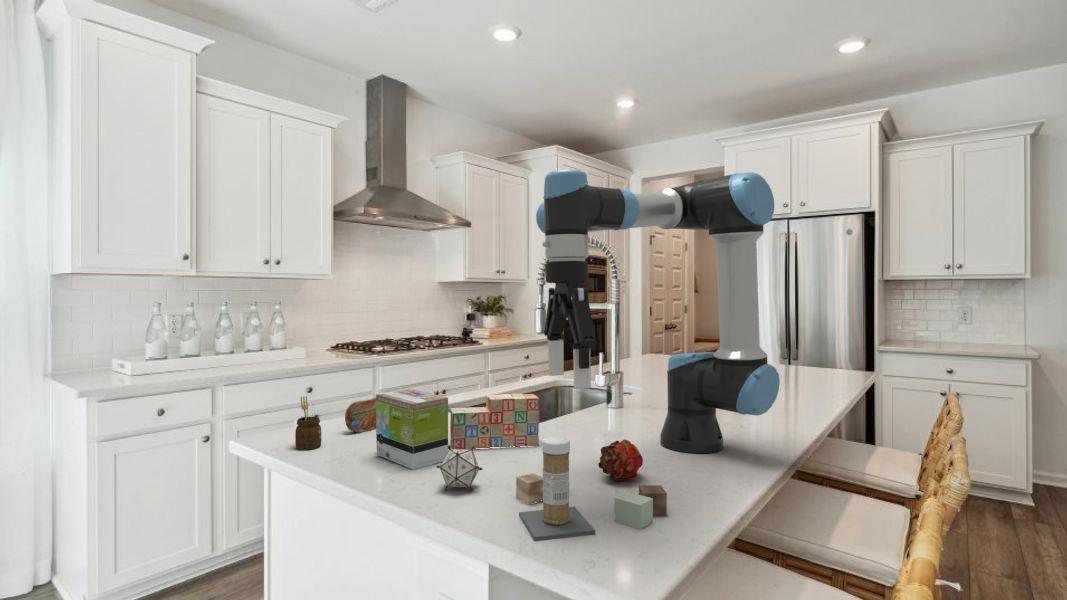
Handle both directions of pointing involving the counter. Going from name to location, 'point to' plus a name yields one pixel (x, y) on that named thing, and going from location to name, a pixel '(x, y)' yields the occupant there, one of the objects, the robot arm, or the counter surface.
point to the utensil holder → (307, 430)
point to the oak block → (529, 488)
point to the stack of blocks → (497, 423)
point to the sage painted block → (633, 510)
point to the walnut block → (655, 498)
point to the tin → (361, 416)
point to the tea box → (412, 428)
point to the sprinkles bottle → (556, 480)
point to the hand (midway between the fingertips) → (568, 381)
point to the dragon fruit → (620, 460)
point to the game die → (459, 468)
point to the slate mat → (548, 531)
